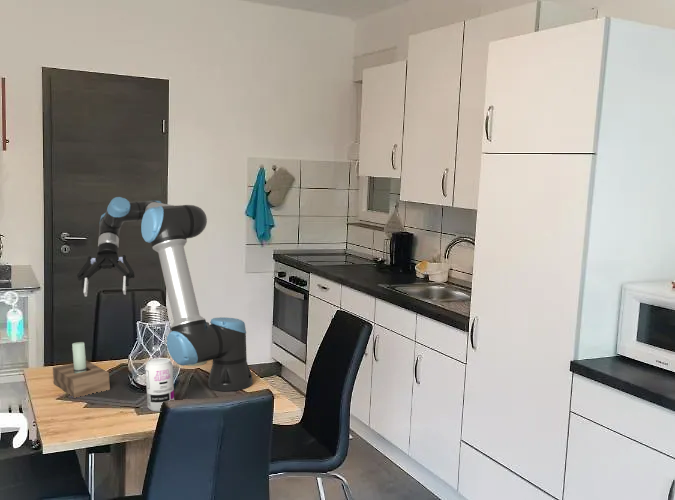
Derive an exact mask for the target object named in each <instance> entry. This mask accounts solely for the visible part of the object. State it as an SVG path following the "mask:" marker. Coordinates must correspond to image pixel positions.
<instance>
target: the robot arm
mask: <svg viewBox="0 0 675 500" xmlns="http://www.w3.org/2000/svg"><path fill="white" fill-rule="evenodd" d="M138 221H141V225H140V226H141V228H140V229H141V231H140V232H141V236H142V238H143V240H144V241H145V242H146V243H148V244H151V248H152V250H153V251H155V252H157V254H158V258H159V263H160V266H161V271H162V275H163V280H164V284H165V288H166V292H167V298H168V301H169V306H170V310H171V314H172V319H173V322H172V324H171V326H170V332H168V334H167V336H166V347H167V350H168V353H169V355H170V357H171V358H172V360H173V361H174V362H175V363H176V364H177V365H180V366H183V367H184V366H185V367H186V365H194V364H196V363H200V362H204V361H207V362H208V361H212V365H211V368H210V373H209V375H208V379H207V383H208V387H209V389H211V390H214V391H217V392H218V391H220V392H235V391H240V390H244V389H247V388H249V387H251V386H252V385H253V384H254V383H253V382H254V381H253V374H252V371H251V369H250V366H249V364H248V359H247V331H246V330H247V329H246V323H245V321H244V320H242V319H240V318H234V317H222V316H221V317H213V318H211V319H210V322H209V325H207V324H206V322H207V319H206V318H205V317H203V316H201V314H200V310H199V305H198V302H197V298H196V294H195V291H194V285H193V281H192V276H191V272H190V268H189V264H188V260H187V256H186V251H185V246H186V244H187V242H188V239H192V238H195V237H198V236H200V235H201V233H203V232H204V230H205V229H206V227H207V222H208V217H207V215H206V213H205V211H204V210H203V209H202V208H201V207H200V206H197V205H192V204H183V205H181V204H180V205H179V204H178V205H174V204H167V203H162V201H161V200H143V201H129V200H128V199H126V198H125V197H122V196H116V197H113V198H112V199H111V200H110V202H109V204H108V205H107V209H106V211H105V212H104V213H103V214H101V216H100V219H99V222H98V223H99V231H98V241H97V243H98V244H97V254H96V257H92V256H88V257H87V260H86V262H85V263H84V265H83V266H82V268H80V270H79V272H78V273H77V275H76V278H77V280H78V281H81V288H82V289H83V295H84V297H88V291H89V279H90V278H91V277H92V276H94V275H95V274H96V273H97V272H99V271H100V270H103V269H104V270H107V269H111V270H112V268H113V269H114V270H116V271H117V272H118V273H119V274H120V275H122V277H123V282H122V292H123V295H125V296H126V295H127V287H129V286H130V279H134V278H135V277H136V276H135V272H134V269H132V267H131V265H130V264H129V262H128V260H127V255H125V254H123V255H122V256H119V247H120V246H119V244H120V231H121V229H122V226H123V224H124V223H125V222H127V223H128V222H138ZM119 262H121V263H122V264H123V265H124V267H125V268H123V267H122V266H121V265H120V264H119ZM92 265H93V266H92ZM125 269H126V270H127V271H126V270H125Z"/></svg>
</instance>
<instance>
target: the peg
mask: <svg viewBox="0 0 675 500" xmlns="http://www.w3.org/2000/svg"><path fill="white" fill-rule="evenodd" d="M71 345H72V346H71V347H72V348H71V350H72V360H73V361H72V362H73V363H74V373H75V374H76V373H81V372H85V371H87V367H86V361H87V357H86V348H85V347H86V346H85V345H86V344H85V342H84V341H79V342H77V341H76V342H73V343H72V344H71Z"/></svg>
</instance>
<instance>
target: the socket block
mask: <svg viewBox="0 0 675 500" xmlns="http://www.w3.org/2000/svg"><path fill="white" fill-rule="evenodd" d="M86 367H87V371H85V372H81V373H76V374H75V373H74V362H73V363H72V362H71V363H68V364H64V365H63V364H61V365H59V366H58V365H57V366H53V367H52V375H53V384H54V385H55V386H56V387H58V388H59V389H61V390H62V391H64V393H66V394H67V395H69V394H70V395H69V396H71V397H72V396H73V398H74V399H76V397H77V398H80V396H81V397H85V395H86V396H89V395H88V394H90V395H93V394H92V393H94V394H97V393H96V392H98V393H102V392H106V390H107V391H110V390H111V386H110V372H108V371H107V370H105V369H103V368H101V367H99V366H98V365H96V364H93V363H92V362H90V361H89V360H86ZM101 391H102V392H101Z"/></svg>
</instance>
